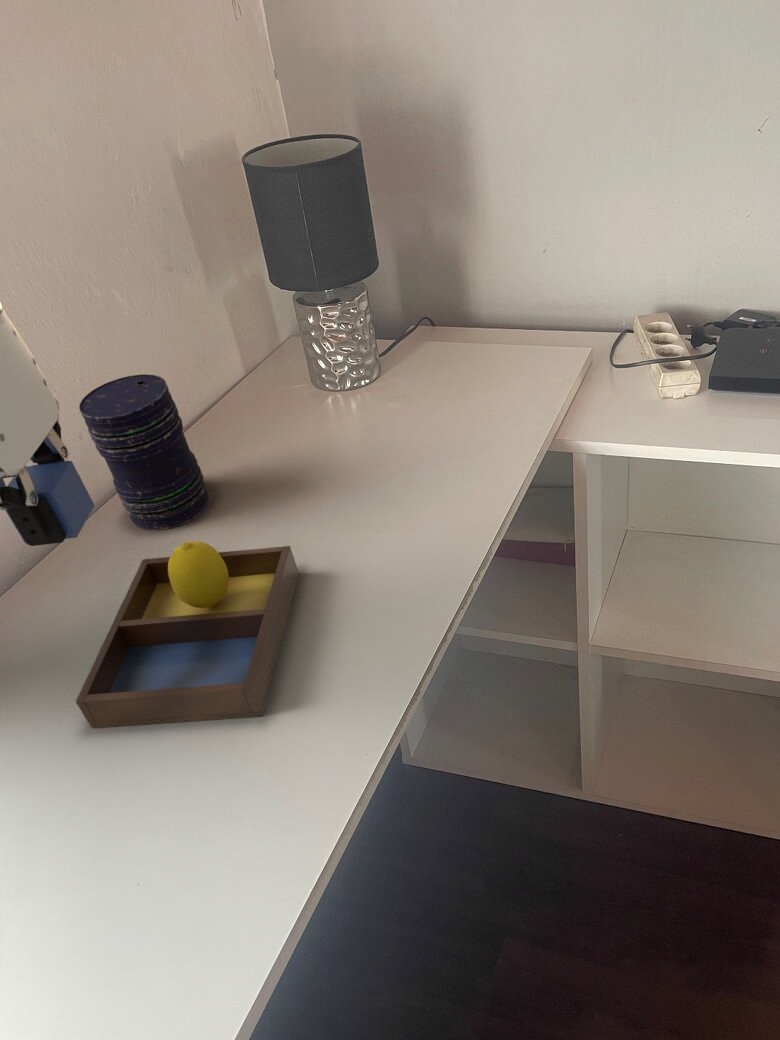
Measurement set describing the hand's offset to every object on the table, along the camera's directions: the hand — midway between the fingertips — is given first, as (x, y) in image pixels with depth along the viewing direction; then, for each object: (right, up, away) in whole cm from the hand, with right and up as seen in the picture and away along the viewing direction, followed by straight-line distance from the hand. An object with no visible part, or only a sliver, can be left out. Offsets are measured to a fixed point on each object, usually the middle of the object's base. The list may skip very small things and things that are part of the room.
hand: (58, 520), depth 72 cm
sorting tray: (+8, -11, +13) cm, 19 cm away
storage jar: (-1, +5, +33) cm, 34 cm away
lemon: (+8, -7, +16) cm, 20 cm away
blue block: (0, 0, 0) cm, 0 cm away
